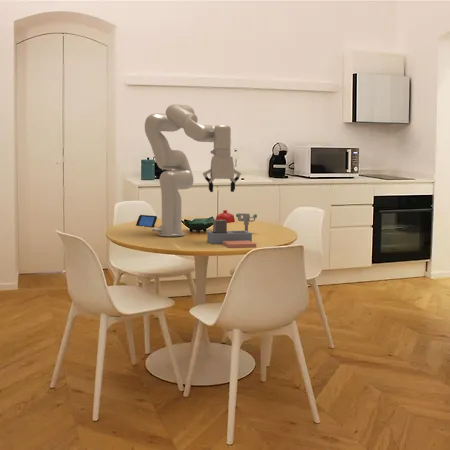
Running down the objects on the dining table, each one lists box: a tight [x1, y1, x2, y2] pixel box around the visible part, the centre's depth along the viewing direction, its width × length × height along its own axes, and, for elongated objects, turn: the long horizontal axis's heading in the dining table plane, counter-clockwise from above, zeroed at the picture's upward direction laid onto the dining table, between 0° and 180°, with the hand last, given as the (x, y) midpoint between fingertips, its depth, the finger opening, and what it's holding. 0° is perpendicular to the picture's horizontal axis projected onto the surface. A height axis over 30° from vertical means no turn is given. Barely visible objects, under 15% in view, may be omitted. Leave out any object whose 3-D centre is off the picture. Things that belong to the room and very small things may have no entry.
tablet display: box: [135, 214, 158, 228], centre depth 343 cm, size 12×10×7 cm
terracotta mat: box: [222, 240, 257, 249], centre depth 282 cm, size 12×11×2 cm
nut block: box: [212, 219, 228, 233], centre depth 292 cm, size 5×5×10 cm
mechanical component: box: [235, 213, 258, 232], centre depth 327 cm, size 3×10×10 cm, turn 79°
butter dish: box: [215, 209, 236, 224], centre depth 369 cm, size 12×12×8 cm
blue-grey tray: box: [206, 230, 253, 245], centre depth 294 cm, size 18×10×4 cm, turn 105°
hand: (221, 191), depth 291 cm, fingers open, 9 cm apart
